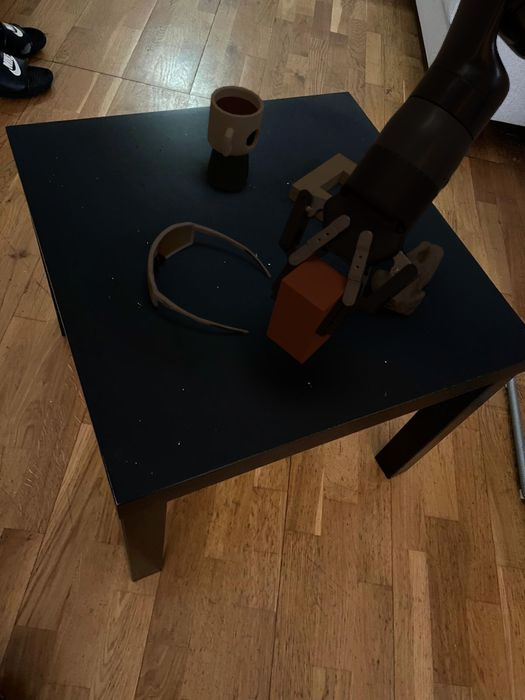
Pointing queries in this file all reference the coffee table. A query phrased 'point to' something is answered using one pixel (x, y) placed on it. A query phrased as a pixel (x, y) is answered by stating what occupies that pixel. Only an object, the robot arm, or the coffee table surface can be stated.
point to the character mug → (232, 135)
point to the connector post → (305, 307)
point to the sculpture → (411, 296)
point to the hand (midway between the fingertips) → (298, 316)
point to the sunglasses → (174, 242)
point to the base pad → (324, 179)
